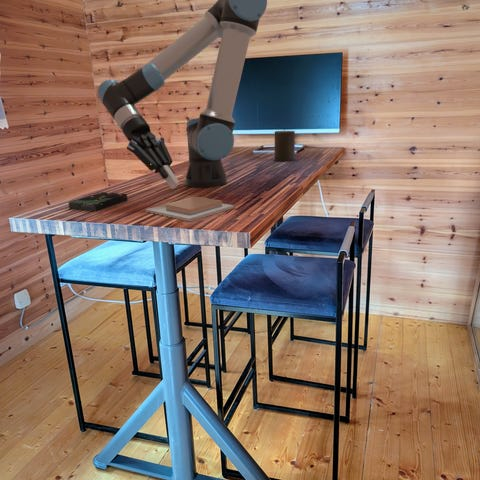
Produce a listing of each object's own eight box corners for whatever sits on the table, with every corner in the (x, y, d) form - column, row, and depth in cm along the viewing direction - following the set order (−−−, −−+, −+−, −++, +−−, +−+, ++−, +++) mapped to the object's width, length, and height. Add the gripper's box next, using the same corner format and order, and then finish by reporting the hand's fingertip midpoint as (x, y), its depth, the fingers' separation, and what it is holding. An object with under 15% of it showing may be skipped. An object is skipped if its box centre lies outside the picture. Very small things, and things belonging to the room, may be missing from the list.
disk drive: (102, 200, 144) (68, 210, 131) (101, 192, 143) (67, 201, 130) (128, 202, 140) (96, 213, 127) (127, 193, 139) (95, 203, 126)
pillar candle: (284, 162, 208) (284, 129, 204) (270, 160, 216) (270, 128, 211) (298, 160, 214) (299, 128, 210) (284, 158, 221) (284, 127, 217)
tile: (197, 196, 130) (221, 200, 124) (197, 201, 131) (222, 206, 124) (165, 204, 122) (190, 209, 115) (166, 210, 122) (191, 215, 116)
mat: (190, 200, 137) (189, 197, 136) (233, 208, 125) (233, 205, 125) (145, 211, 124) (145, 209, 124) (189, 221, 113) (189, 218, 113)
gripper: (145, 131, 139) (186, 189, 134) (110, 135, 129) (152, 198, 124) (154, 114, 134) (197, 173, 129) (118, 116, 124) (163, 181, 119)
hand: (175, 185), depth 126 cm, fingers closed
